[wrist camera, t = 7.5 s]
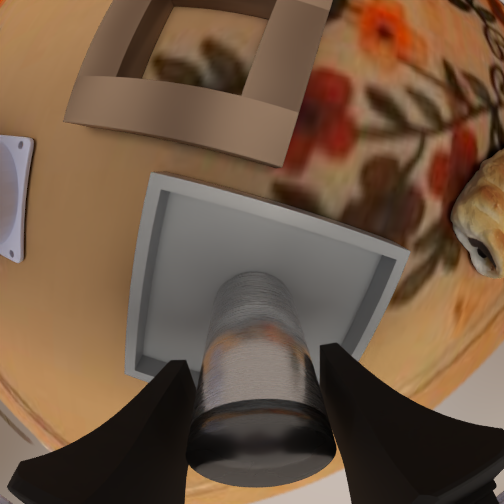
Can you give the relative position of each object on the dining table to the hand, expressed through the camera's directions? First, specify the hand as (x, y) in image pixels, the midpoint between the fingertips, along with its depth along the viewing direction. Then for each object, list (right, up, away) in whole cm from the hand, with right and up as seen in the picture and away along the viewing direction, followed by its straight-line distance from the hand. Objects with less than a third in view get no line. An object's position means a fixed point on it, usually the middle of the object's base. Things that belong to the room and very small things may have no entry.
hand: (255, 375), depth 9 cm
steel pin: (0, +2, +5) cm, 5 cm away
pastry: (+15, +8, +4) cm, 18 cm away
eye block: (-2, +14, +1) cm, 14 cm away
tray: (0, +2, +5) cm, 5 cm away
